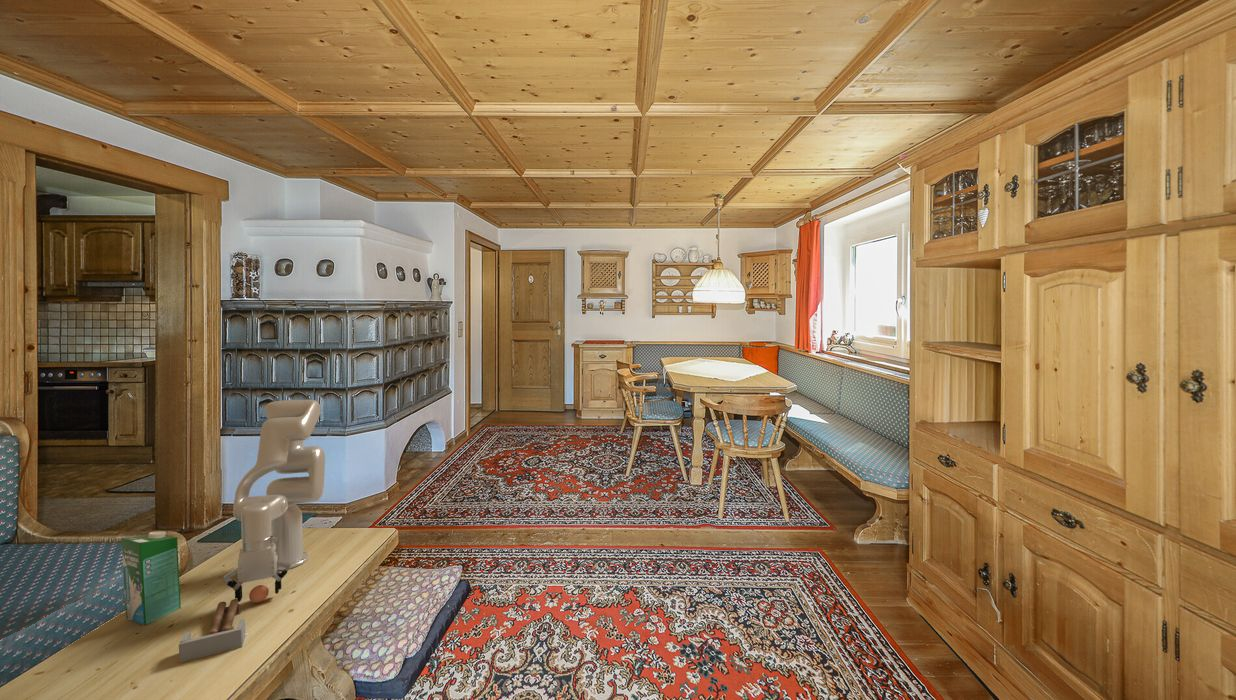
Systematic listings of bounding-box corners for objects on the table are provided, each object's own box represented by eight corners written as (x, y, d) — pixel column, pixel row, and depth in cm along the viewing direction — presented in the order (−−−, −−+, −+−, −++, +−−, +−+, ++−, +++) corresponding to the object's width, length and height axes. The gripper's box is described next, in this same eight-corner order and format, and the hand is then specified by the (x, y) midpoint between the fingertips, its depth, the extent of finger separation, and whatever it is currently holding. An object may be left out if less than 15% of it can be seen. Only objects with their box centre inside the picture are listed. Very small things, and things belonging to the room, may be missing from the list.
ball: (251, 599, 153) (250, 584, 153) (270, 595, 156) (269, 580, 155) (248, 607, 149) (247, 592, 148) (267, 603, 151) (267, 588, 151)
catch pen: (185, 650, 129) (184, 632, 129) (245, 635, 136) (244, 618, 135) (179, 662, 125) (178, 644, 125) (241, 646, 131) (241, 629, 131)
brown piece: (217, 616, 144) (216, 602, 144) (240, 610, 147) (240, 597, 147) (206, 639, 134) (205, 624, 134) (231, 633, 137) (231, 618, 136)
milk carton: (181, 608, 148) (177, 529, 146) (144, 625, 140) (139, 542, 138) (162, 602, 151) (158, 525, 149) (125, 618, 143) (121, 537, 141)
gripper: (291, 533, 158) (292, 583, 159) (225, 544, 150) (227, 596, 151) (288, 542, 152) (290, 594, 153) (219, 554, 143) (221, 609, 144)
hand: (258, 595), depth 152 cm, fingers open, 9 cm apart
